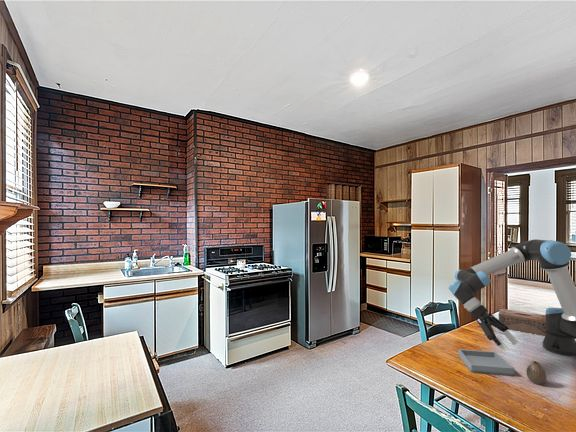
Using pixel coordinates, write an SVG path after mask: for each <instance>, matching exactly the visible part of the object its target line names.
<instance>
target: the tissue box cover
mask: <svg viewBox="0 0 576 432" xmlns="http://www.w3.org/2000/svg"><path fill="white" fill-rule="evenodd" d="M498 320H499V321H501V322H502V323H503V324H504V325H506V326H507V327H508V328H509V329H508V331H514V332H518V331H520V332H519V333H524V332H525V333H526V334H529V333H531V335H535V334H536V336H541V335H542V337H545V335H546V315H545V314H540V313H533V312H526V311H519V310H512V309H507V308H506V309H505V308H500V309H499V311H498Z"/></svg>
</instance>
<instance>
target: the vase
mask: <svg viewBox="0 0 576 432" xmlns="http://www.w3.org/2000/svg"><path fill="white" fill-rule="evenodd" d="M545 370H546V369H544V368H543V367H542V365H541V364H540V362H538V361H534V360H533V361H532V362H531V363H530V364H529V365H528V366H527V368H526V376H527V378H528V380H529V381H530V382H531V383H533V384H535V385H544V384H545V383H546V382H547V373H546V371H545Z"/></svg>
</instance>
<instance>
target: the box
mask: <svg viewBox="0 0 576 432" xmlns="http://www.w3.org/2000/svg"><path fill="white" fill-rule="evenodd" d="M457 356H458V357H459V359H460V360H461V361H462V362H463V364H464V365H465V366H466V368H467V369H468V370H469V371H470V373H473V374H474V373H475V374H485V375H496V376H497V375H499V376H507V377H508V376H512V377H515V368H514V367H513V366H512V365H511V364H509V363H508V362H507V361H506V360H505V359H504V358H503V357H502V356H500V354H498V353H497V352H496V351H491V350H490V351H489V350H487V351H486V350H476V349H475V350H473V349H460V348H459V349H457Z"/></svg>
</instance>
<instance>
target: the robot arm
mask: <svg viewBox="0 0 576 432" xmlns="http://www.w3.org/2000/svg"><path fill="white" fill-rule="evenodd" d="M571 257H572V251H571V249H570V247H569V246H568V245H566V244H565V243H563V242H561V241H558V240H557V241H556V240H553V239H552V240H551V239H550V240H545V239H529V240H526V241H522V242H520V243H519V244H517V245H513V246H512V247H510V249H509V250H507V251H505V252H503V253H500V254H498V255H497V256H494V257H491V258H489V259H487V260H485V261H482V262H480V263H478V264H475V265H473V266H471V267H469V268H466V269H458V270H456V271H455V273H454V279H455V281H453V282H452V283H451V284H450V285H449V286H448V289H449V291H450V292H451V294H452V295H453V296H454V297H455V298H456V300H458V301H459V303H461V305H462V306H463V307H464V309H465V310H466V311H468V312H469V314H470V315H471V316H472V318H474V319H476V322H477V324H479V327H480V328H481V330H482V332H483V333H484V335H485V336H486V338H487V339H488V340H489V341H493V342H494V343H495V344H496V346H497V348H499V349H500V350H501V351H502V352H503V353H504V354H505V353H507V352H508V351H510V349H509V348H508V346H507V345H506V344H505V343H504V342H503V341H502V340H501V339H500V338H499V336H497V335H496V333H495V331H494V329H493V327H495V329H498V330H499V331H500V332H502V335H504V336H505V338H506V339H507V340H508V341H509V342H510V343H511V344H512V345H513V346H514V345H516V344H519V341H518V340H517V339H516V337H515V336H514V335H513V334H512V333H511V332H510V330H508V329H509V328H508V327H507V326H506V325H504V324H503V323H502V322H501V321H499V318H496V316H495V315H493V314H492V313H491V312H489V313H488V311H489V310H488V309H487V307H486V306H484V304H482V302H481V301H480V300H479V299H478V298H477V297H476V295H474V294H475V293H477V292H479V291H481V290H482V289H484V288H486V287H488V286H489V285H490V284H491V282H492V281H491V278H490V276H491V275H492V274H495V273H496V272H499V271H501V270H503V269H506V268H508V267H511V266H513V265H515V264H517V263H520V264H524V263H525V262H529V261H536V262H538V263H539V266H540V269H541V270H543V271H545V272H546V273H547V276H548V278H549V281H550V283H551V285H552V288H553V291H554V293H555V295H556V297H557V300H558V302H559V305H560V307H547V308H546V309H545V314H544V315H546V335H545V336H544V338H543V341H542V348H544V349H545V350H547V351H548V352H551V353H554V354H555V353H556V354H559V355H563V356H570V357H571V356H572V357H573V356H574V357H575V356H576V285H575V282H574V280H573V278H572V275H571V273H570V271H569V268H568V267H569V266H570V260H571Z"/></svg>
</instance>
